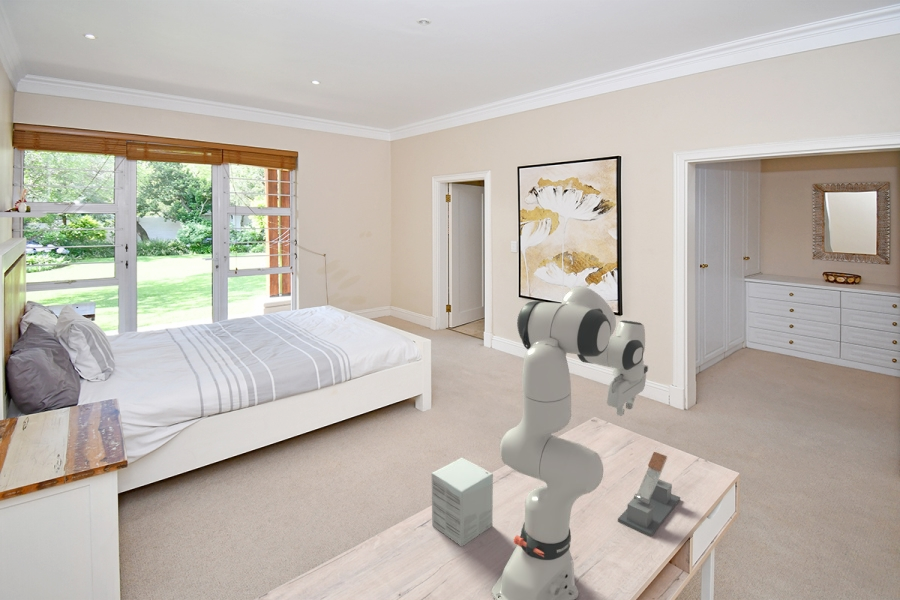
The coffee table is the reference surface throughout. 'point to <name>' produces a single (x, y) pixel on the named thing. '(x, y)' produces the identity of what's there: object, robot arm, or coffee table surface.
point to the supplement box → (462, 500)
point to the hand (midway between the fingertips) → (624, 411)
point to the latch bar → (651, 478)
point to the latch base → (657, 516)
